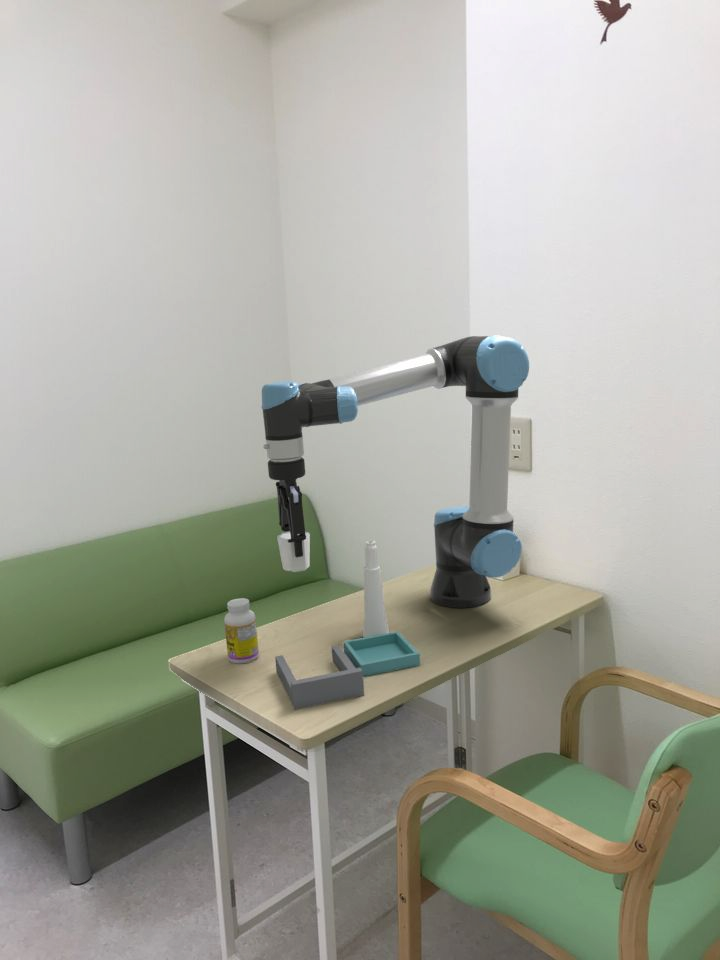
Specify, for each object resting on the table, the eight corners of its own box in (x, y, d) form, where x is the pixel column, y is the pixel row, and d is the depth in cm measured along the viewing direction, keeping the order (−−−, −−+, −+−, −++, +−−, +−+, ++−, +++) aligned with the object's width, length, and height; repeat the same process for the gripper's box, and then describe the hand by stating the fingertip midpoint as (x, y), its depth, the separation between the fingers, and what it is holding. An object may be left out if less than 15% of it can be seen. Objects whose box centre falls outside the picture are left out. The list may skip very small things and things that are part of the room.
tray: (398, 641, 169) (398, 631, 168) (420, 664, 157) (419, 653, 156) (343, 652, 165) (343, 641, 165) (361, 676, 153) (361, 665, 153)
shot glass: (288, 560, 166) (285, 529, 164) (317, 562, 163) (315, 530, 162) (274, 571, 159) (271, 538, 158) (304, 573, 157) (301, 540, 155)
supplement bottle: (225, 655, 168) (219, 599, 165) (255, 649, 170) (249, 594, 167) (231, 667, 161) (225, 610, 159) (262, 660, 164) (256, 604, 161)
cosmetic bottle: (371, 642, 169) (365, 547, 165) (357, 634, 174) (351, 541, 170) (394, 635, 172) (389, 542, 168) (380, 627, 177) (374, 536, 173)
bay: (276, 672, 158) (274, 649, 157) (339, 660, 162) (338, 637, 161) (294, 709, 142) (292, 684, 141) (364, 695, 146) (362, 670, 145)
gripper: (258, 453, 165) (268, 555, 169) (277, 468, 146) (287, 582, 151) (293, 449, 167) (301, 550, 171) (315, 463, 148) (324, 576, 153)
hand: (295, 565), depth 161 cm, fingers closed on shot glass, 7 cm apart
